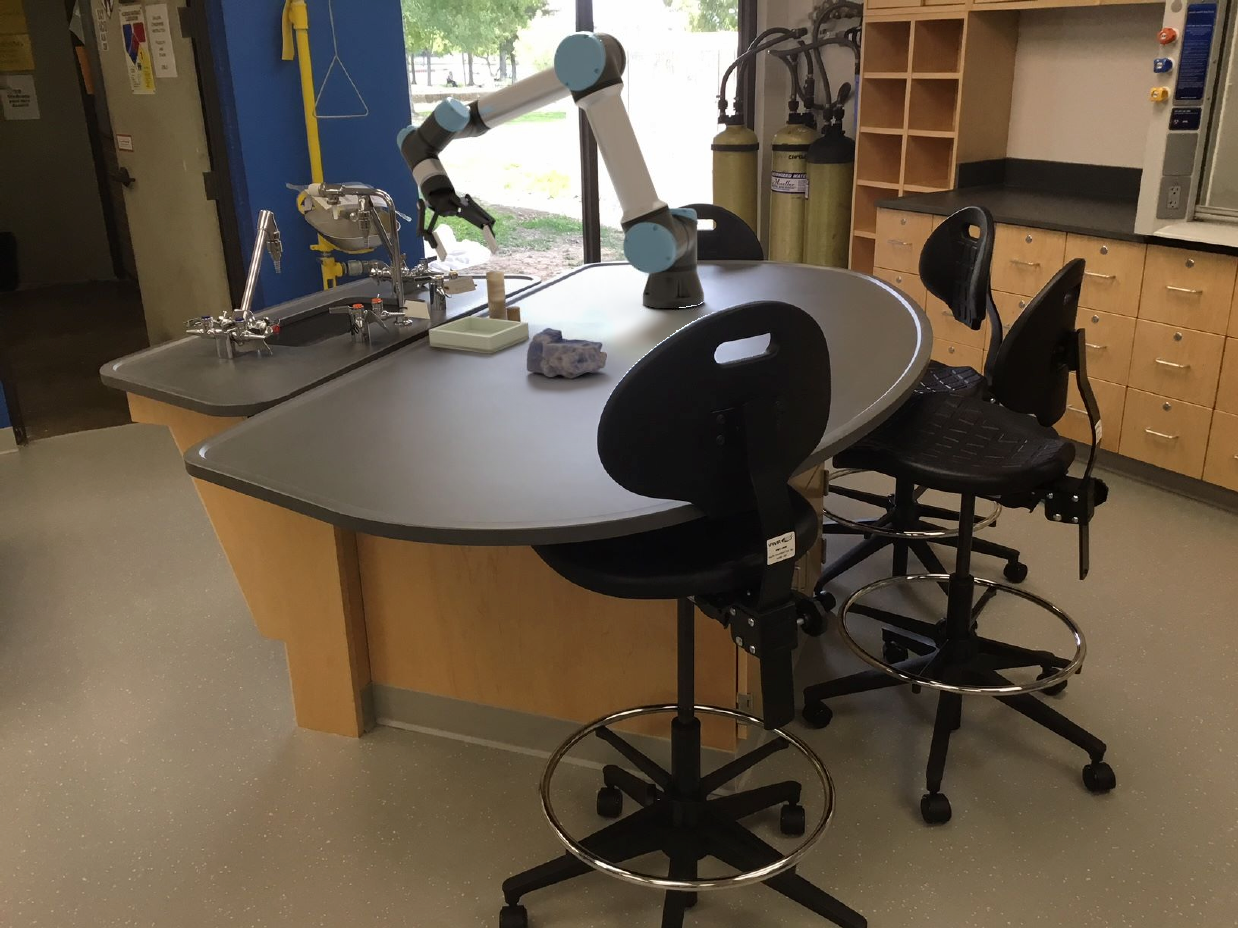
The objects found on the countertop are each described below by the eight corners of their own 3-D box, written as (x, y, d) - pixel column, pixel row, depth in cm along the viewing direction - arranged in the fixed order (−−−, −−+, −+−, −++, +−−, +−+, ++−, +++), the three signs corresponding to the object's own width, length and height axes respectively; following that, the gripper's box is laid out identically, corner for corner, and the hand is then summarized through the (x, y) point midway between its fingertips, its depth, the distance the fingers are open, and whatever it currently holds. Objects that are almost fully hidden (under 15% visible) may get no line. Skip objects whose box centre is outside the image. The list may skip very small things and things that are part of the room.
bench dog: (523, 328, 229) (522, 307, 227) (516, 331, 226) (514, 309, 224) (512, 327, 230) (511, 305, 228) (505, 330, 228) (503, 308, 226)
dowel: (510, 323, 234) (507, 271, 230) (500, 327, 231) (496, 274, 226) (496, 321, 236) (492, 270, 232) (486, 325, 233) (482, 273, 228)
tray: (529, 338, 220) (528, 322, 219) (490, 353, 209) (489, 337, 208) (470, 331, 228) (469, 316, 227) (430, 345, 217) (428, 329, 215)
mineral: (521, 332, 188) (546, 317, 197) (521, 379, 193) (545, 362, 201) (591, 346, 184) (614, 330, 192) (589, 394, 188) (611, 377, 196)
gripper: (475, 189, 251) (510, 257, 245) (382, 199, 237) (417, 271, 232) (484, 168, 245) (521, 238, 240) (389, 177, 231) (426, 250, 226)
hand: (470, 254), depth 236 cm, fingers open, 13 cm apart
